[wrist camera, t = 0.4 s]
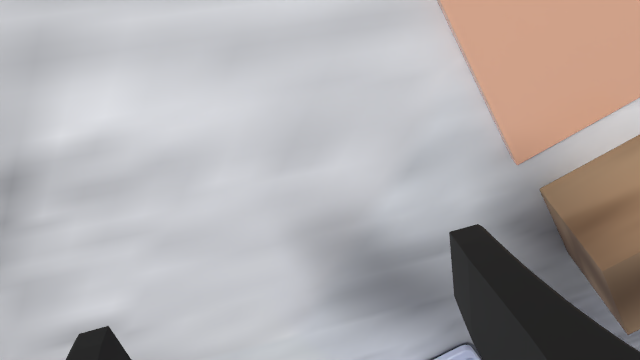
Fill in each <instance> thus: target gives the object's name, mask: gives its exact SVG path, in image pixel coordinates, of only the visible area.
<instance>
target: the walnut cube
mask: <svg viewBox="0 0 640 360" xmlns="http://www.w3.org/2000/svg"><path fill="white" fill-rule="evenodd" d="M540 192H541V194H542V196H543V198H544V201H545V203H546V205H547V207H548V209H549V212H550V214H551V216H552V218H553V220H554V223H555V225H556V227H557V229H558V232H559V234H560V236H561V238H562V240H563V243H564V245H565V247H566V249H567V251H568V253H569V255H570V256H571V257H572V259H573V260H574V262H575V263H576V264H577V266H578V267H579V268H580V270H581V271H582V273H583V274H584V275H585V277H586V278H587V279H588V281H589V282H590V284H591V285H592V286H593V288H594V289H595V290H596V292H597V293H598V295H599V296H600V297H601V299H602V300H603V301H604V303H605V304H606V306H607V307H608V308H609V310H610V311H611V312H612V314H613V315H614V317H615V318H616V319H617V321H618V322H619V323H620V325H621V326H622V328H623V329H624V330H625V332H626V333H627V334H628V335H629V334H631V333H633V332H635V331H637V330H639V329H640V135H638V136H636V137H634V138H633V139H631V140H629V141H627V142H625V143H623V144H622V145H620V146H618V147H616V148H614V149H612V150H611V151H609V152H607V153H605V154H603V155H601V156H599V157H598V158H596V159H594V160H592V161H590V162H588V163H587V164H585V165H583V166H581V167H579V168H577V169H576V170H574V171H572V172H570V173H568V174H566V175H564V176H563V177H561V178H559V179H557V180H555V181H553V182H552V183H550V184H548V185H546V186H544V187H542V188H541V189H540Z"/></svg>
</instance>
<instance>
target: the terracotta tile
mask: <svg viewBox="0 0 640 360" xmlns="http://www.w3.org/2000/svg"><path fill="white" fill-rule="evenodd" d="M437 1H438V3H439V5H440V7H441V10H442V12H443V14H444V16H445V18H446V20H447V22H448V24H449V27H450V29H451V31H452V33H453V35H454V37H455V39H456V41H457V43H458V46H459V48H460V50H461V52H462V54H463V56H464V58H465V60H466V63H467V65H468V67H469V69H470V71H471V73H472V75H473V77H474V79H475V82H476V84H477V86H478V88H479V90H480V92H481V94H482V96H483V99H484V101H485V103H486V105H487V107H488V109H489V111H490V113H491V115H492V118H493V120H494V122H495V124H496V126H497V128H498V130H499V132H500V135H501V137H502V139H503V141H504V143H505V145H506V147H507V149H508V151H509V154H510V156H511V158H512V159H513V161H514V162H515V163H516V165H519V164H520V163H522V162H524V161H526V160H528V159H529V158H531V157H533V156H535V155H537V154H538V153H540V152H542V151H544V150H546V149H547V148H549V147H551V146H553V145H555V144H556V143H558V142H560V141H562V140H564V139H565V138H567V137H569V136H571V135H573V134H574V133H576V132H578V131H580V130H582V129H583V128H585V127H587V126H589V125H591V124H593V123H594V122H596V121H598V120H600V119H602V118H603V117H605V116H607V115H609V114H611V113H612V112H614V111H616V110H618V109H620V108H621V107H623V106H625V105H627V104H629V103H630V102H632V101H634V100H636V99H638V98H639V97H640V0H437Z"/></svg>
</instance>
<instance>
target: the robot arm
mask: <svg viewBox="0 0 640 360" xmlns="http://www.w3.org/2000/svg"><path fill="white" fill-rule="evenodd" d="M449 234H450V246H451V259H452V272H453V285H454V296H455V299H456V301H457V304H458V306H459V309H460V311H461V314H462V316H463V319H464V321H465V324H466V326H467V329H468V331H469V334H470V336H471V338H472V341H473V342H474V344H475V346H476V348H477V350H478V352H479V354H480V356H481V357H482V359H483V360H640V352H639V351H638V350H636V349H634V348H633V347H631V346H630V345H628V344H627V343H625V342H624V341H622V340H621V339H619V338H618V337H616V336H615V335H613V334H612V333H610V332H609V331H608V330H606V329H605V328H603V327H602V326H600V325H599V324H598V323H596V322H595V321H594V320H592V319H591V318H589V317H588V316H587V315H585V314H584V313H583V312H581V311H580V310H579V309H577V308H576V307H575V306H573V305H572V304H571V303H569V302H568V301H567V300H566V299H564V298H563V297H562V296H561V295H559V294H558V293H557V292H556V291H554V290H553V289H552V288H551V287H549V286H548V285H547V284H546V283H545V282H543V281H542V280H541V279H540V278H538V277H537V276H536V275H535V274H534V273H532V272H531V271H530V270H529V269H528V268H527V267H526V266H524V265H523V264H522V263H521V262H520V261H519V260H518V259H516V258H515V257H514V256H513V255H512V254H511V253H510V252H509V251H508V250H507V249H505V248H504V247H503V246H502V245H501V244H500V243H499V242H498V241H497V240H496V239H495V238H494V237H493V236H492V235H491V234H490V233H489V232H488V231H487V230H486V229H485V228H484V227H482V226H480V225H478V224H477V225H473V226H469V227H466V228H462V229H459V230H455V231H451V232H449ZM66 360H131V359H130V357H129V356H128V354H127V353H126V351H125V350H124V348H123V347H122V345H121V344H120V342H119V341H118V339H117V338H116V336H115V335H114V333H113V332H112V331H111V329H110V328H109V326H106V327H103V328H99V329H96V330H92V331H88V332H85V333H81V334H79V335H78V337H77V339H76V340H75V342H74V344H73V346H72V348H71V350H70V352H69V354H68V356H67V358H66ZM434 360H481V359H480V357H479V356H478V355H477V353H476V352H475V351H474V349H473V348H472V347H471V346H470V345H462V346H459V347H457V348H455V349H453V350H451V351H449V352H447V353H445V354H443V355H441V356H439V357H437V358H436V359H434Z"/></svg>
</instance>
